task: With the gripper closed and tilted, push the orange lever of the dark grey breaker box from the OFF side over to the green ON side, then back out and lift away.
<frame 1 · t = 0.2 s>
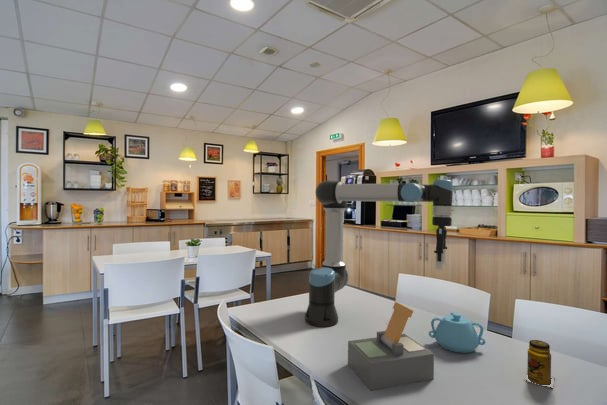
hand: (440, 266, 142), 28 cm above the table, tool pointing down, fingers open, 13 cm apart
breaker lever: (396, 325, 110), point 15 cm above the table, hinge at -25.0°
condiment: (539, 380, 106), on the table
teapot: (455, 345, 130), on the table
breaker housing: (389, 371, 110), on the table
lily: (392, 343, 131), on the table
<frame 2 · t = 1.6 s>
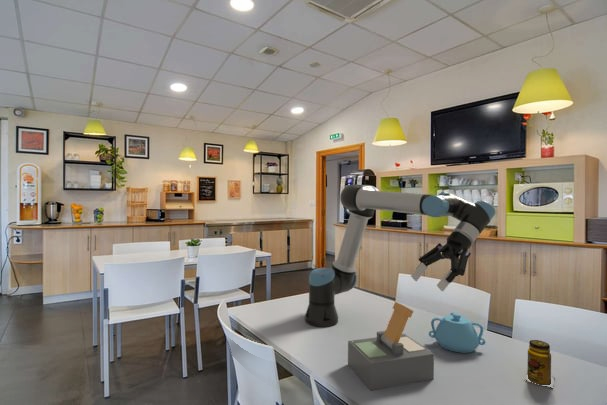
hand: (425, 283, 114), 28 cm above the table, tool tilted 45°, fingers open, 13 cm apart
nothing on the table moved.
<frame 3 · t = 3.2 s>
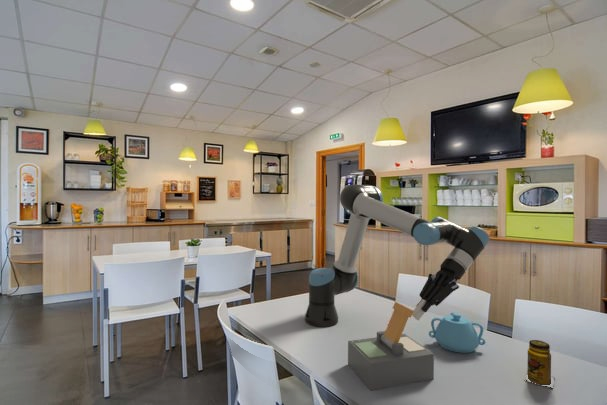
hand: (414, 317, 112), 17 cm above the table, tool tilted 45°, fingers closed
nothing on the table moved.
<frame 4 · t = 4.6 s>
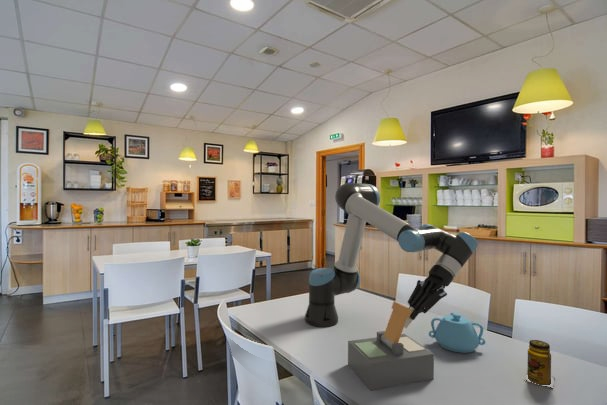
hand: (402, 325, 110), 15 cm above the table, tool tilted 45°, fingers closed
breaker lever: (395, 325, 110), point 15 cm above the table, hinge at -22.3°, touching gripper
everything else where it was.
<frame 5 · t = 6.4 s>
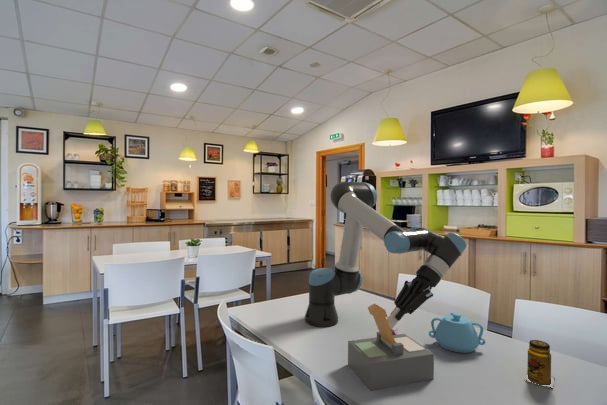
hand: (388, 325, 109), 15 cm above the table, tool tilted 45°, fingers closed
breaker lever: (383, 327, 109), point 15 cm above the table, hinge at 23.6°
everything else where it was.
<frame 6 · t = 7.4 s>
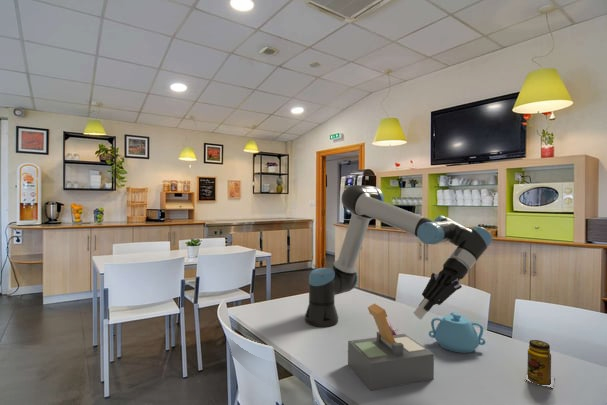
hand: (417, 316, 112), 17 cm above the table, tool tilted 45°, fingers closed
nothing on the table moved.
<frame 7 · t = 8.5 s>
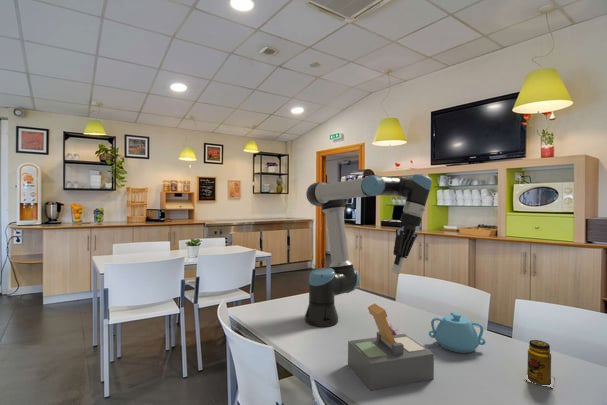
hand: (395, 272, 130), 28 cm above the table, tool tilted 15°, fingers closed
nothing on the table moved.
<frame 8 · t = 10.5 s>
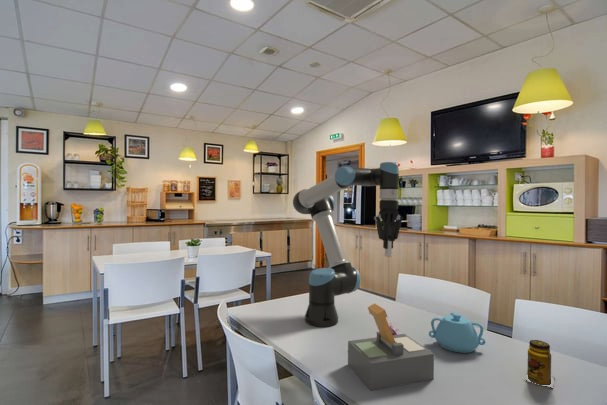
hand: (388, 256, 139), 32 cm above the table, tool pointing down, fingers closed
nothing on the table moved.
at the end: breaker lever at +24° (first picture: -25°) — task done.
